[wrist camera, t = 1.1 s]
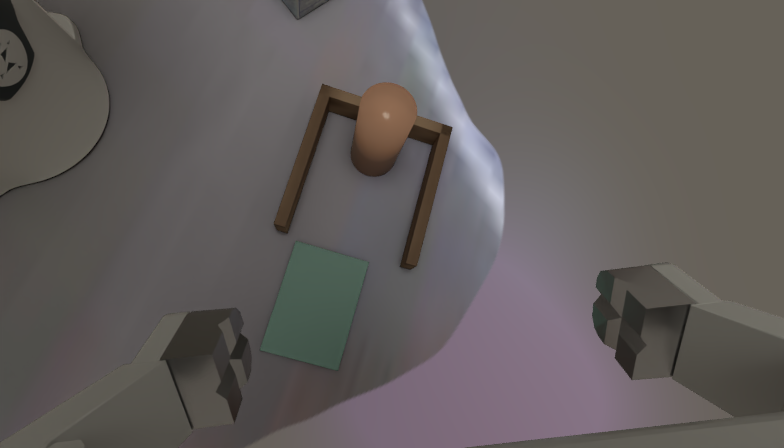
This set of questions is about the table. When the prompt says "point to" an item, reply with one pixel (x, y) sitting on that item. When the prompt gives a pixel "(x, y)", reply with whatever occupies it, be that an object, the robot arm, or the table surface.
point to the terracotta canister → (382, 128)
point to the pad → (315, 306)
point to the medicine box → (302, 6)
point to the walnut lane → (349, 108)
